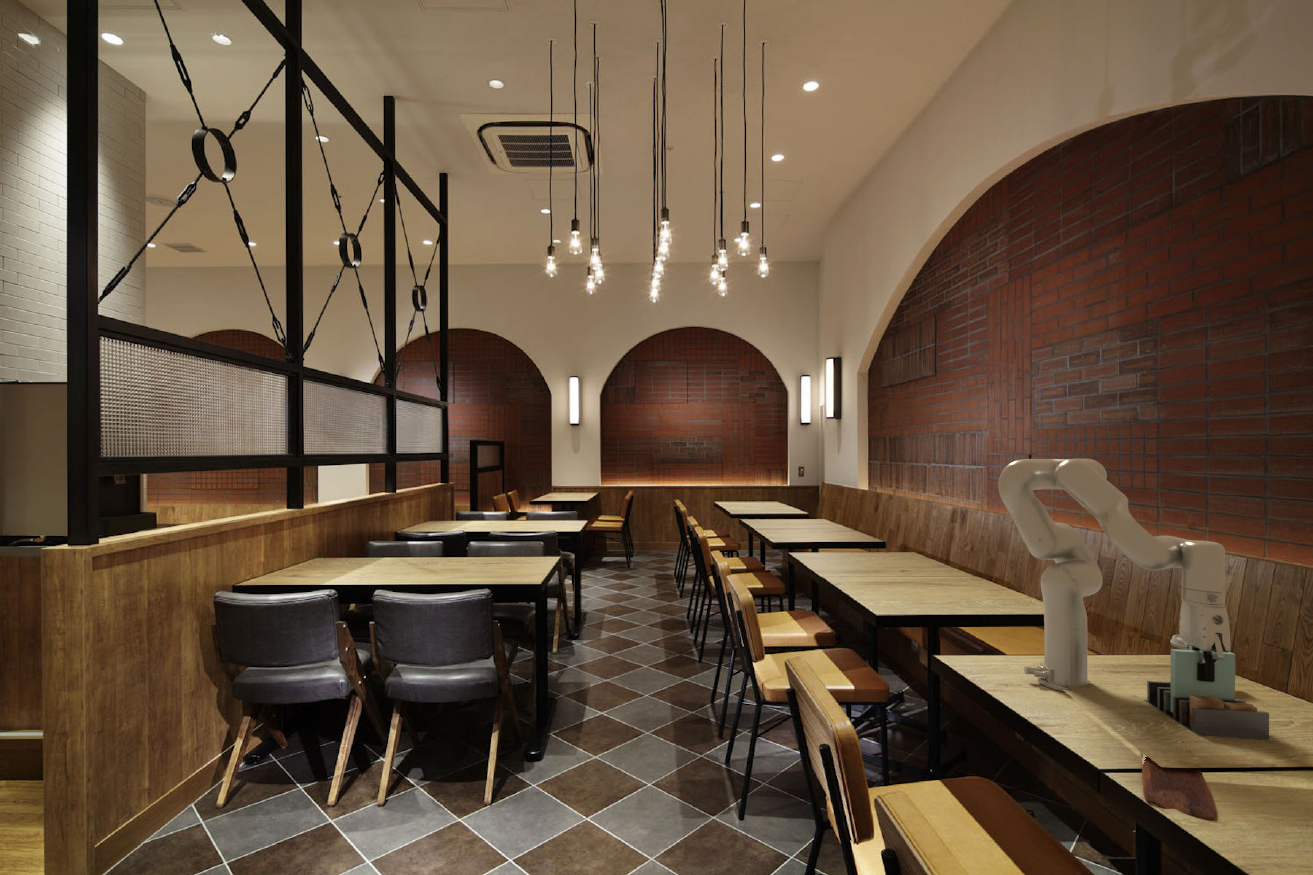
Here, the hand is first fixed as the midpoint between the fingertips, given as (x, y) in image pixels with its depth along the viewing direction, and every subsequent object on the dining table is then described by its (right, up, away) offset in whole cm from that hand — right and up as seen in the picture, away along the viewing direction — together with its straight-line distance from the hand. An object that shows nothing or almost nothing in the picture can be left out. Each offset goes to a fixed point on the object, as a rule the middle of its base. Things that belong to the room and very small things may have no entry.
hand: (1202, 678), depth 147 cm
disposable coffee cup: (+18, -11, +24) cm, 32 cm away
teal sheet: (0, -8, 0) cm, 8 cm away
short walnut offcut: (+2, -9, -7) cm, 11 cm away
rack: (0, -10, 0) cm, 10 cm away
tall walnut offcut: (-4, -9, -6) cm, 11 cm away
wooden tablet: (-26, -11, -25) cm, 37 cm away
